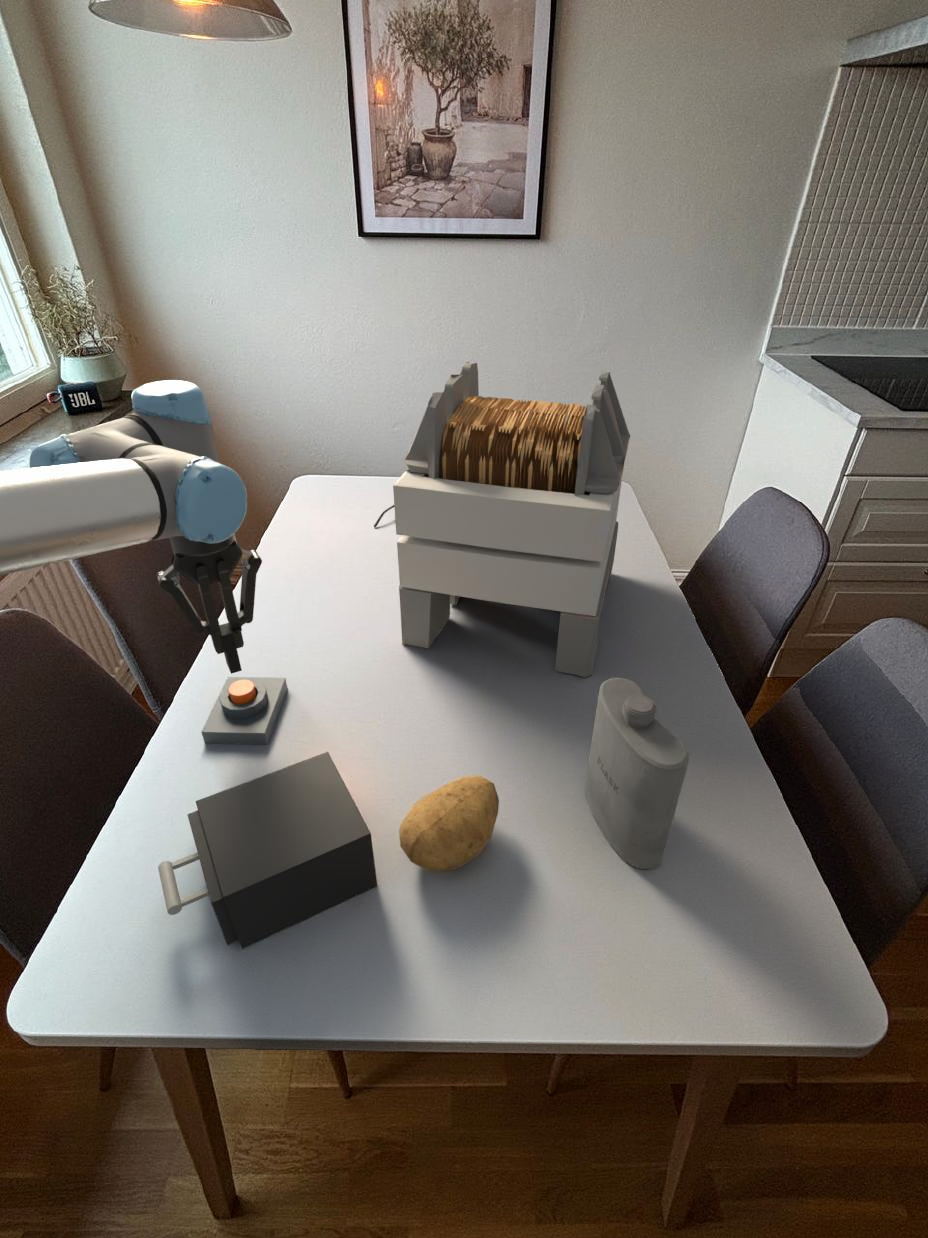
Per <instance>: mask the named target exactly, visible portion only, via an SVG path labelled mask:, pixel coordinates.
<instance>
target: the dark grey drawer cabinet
mask: <svg viewBox="0 0 928 1238" xmlns="http://www.w3.org/2000/svg"><path fill="white" fill-rule="evenodd" d="M195 804H196V809H197V810H198V812H199V815H200V819H201V822H202V826H203V829H204V833H205V836H206V840H207V843H208V847H209V850H210V854H211V857H212V861H213V864H214V868H215V871H216V875H217V878H218V881H219V885H220V888H221V892H222V895H223V899H224V901H225V904H226V907H227V910H228V913H229V915H230V918H231V921H232V924H233V927H234V929H235V932H236V935H237V938H238V941H237V942H238V944H239V946H240V949H241V950H245V949H246V948H249V947H250V946H253V945H255V944H257V943H259V942H261V941H263V940H265V939H267V938H269V937H272V936H274V935H277V934H278V933H281V932H283V931H284V930H287V929H289V928H291V927H293V926H295V925H298V924H300V923H302V922H304V921H306V920H309V919H310V918H312V917H314V916H316V915H318V914H321V913H323V912H325V911H327V910H330V909H332V908H333V907H336V906H338V905H340V904H343V903H344V902H346V901H348V900H351V899H353V898H355V897H357V896H359V895H362V894H363V893H366V892H368V891H370V890H373V889H374V888H376V887H378V880H377V870H376V864H375V863H376V862H375V855H374V848H373V841H372V833H371V831H370V829H369V827H368V825H367V823H366V821H365V820H364V817H363V816H362V814H361V812H360V810H359V808H358V806H357V804H356V802H355V800H354V799H353V796H352V795H351V793H350V791H349V789H348V788H347V785H346V783H345V782H344V779H343V778H342V776H341V774H340V772H339V770H338V768H337V766H336V764H335V763H334V760H333V759H332V756H331V755H330V753H329V751H326V752H323V753H320V754H318V755H315V756H312V757H309V758H308V759H305V760H302V761H299V762H296V763H294V764H291V765H288V766H286V767H285V766H284V767H283V768H281V769H278V770H275V771H273V772H269V773H267V774H264V775H262V776H259V777H257V778H253V779H251V780H248V781H245V782H243V783H240V784H237V785H235V786H233V787H229V788H227V789H224V790H222V791H219V792H216V793H214V794H213V793H212V794H210V795H209V796H204V797H202V798H200V799H197V800H195Z"/></svg>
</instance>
